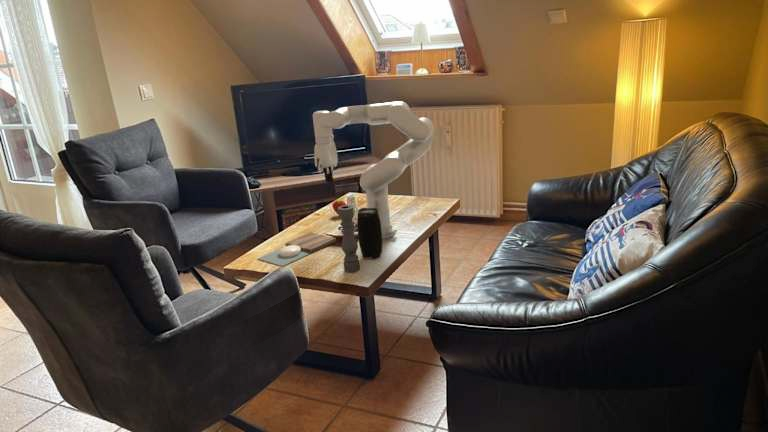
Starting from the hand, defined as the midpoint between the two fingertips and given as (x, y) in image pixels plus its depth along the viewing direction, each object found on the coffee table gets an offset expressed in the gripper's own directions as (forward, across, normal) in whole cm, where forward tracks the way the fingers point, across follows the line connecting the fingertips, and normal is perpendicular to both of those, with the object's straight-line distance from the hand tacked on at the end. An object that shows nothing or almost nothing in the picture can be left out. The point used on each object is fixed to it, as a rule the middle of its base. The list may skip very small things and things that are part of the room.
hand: (329, 181), depth 243 cm
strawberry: (+25, -22, -18) cm, 38 cm away
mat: (+25, +29, -2) cm, 38 cm away
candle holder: (+25, +25, +33) cm, 49 cm away
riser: (+25, +14, -2) cm, 29 cm away
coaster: (+25, +26, -2) cm, 36 cm away
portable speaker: (+25, +11, +31) cm, 41 cm away
